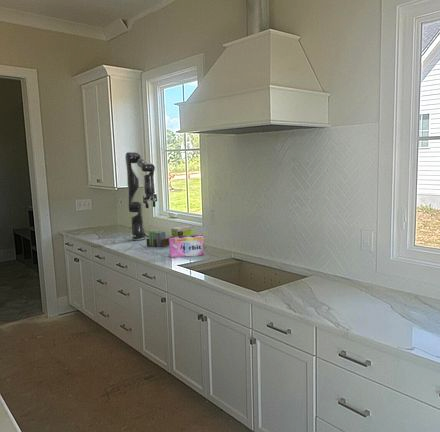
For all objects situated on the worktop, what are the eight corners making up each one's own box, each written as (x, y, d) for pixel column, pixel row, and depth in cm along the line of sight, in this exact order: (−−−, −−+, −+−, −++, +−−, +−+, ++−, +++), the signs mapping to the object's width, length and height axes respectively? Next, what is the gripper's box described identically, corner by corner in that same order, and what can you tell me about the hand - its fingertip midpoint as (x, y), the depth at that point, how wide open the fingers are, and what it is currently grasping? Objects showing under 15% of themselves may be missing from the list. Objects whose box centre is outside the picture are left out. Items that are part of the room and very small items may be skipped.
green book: (154, 244, 330) (153, 229, 328) (155, 244, 329) (154, 229, 327) (149, 246, 324) (148, 231, 322) (150, 246, 324) (149, 231, 322)
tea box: (188, 243, 337) (187, 225, 335) (195, 244, 330) (194, 226, 328) (172, 246, 327) (171, 227, 325) (178, 247, 320) (177, 229, 318)
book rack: (155, 245, 332) (154, 236, 331) (170, 246, 327) (170, 237, 326) (146, 247, 323) (146, 238, 322) (162, 248, 318) (162, 239, 317)
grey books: (161, 244, 328) (161, 231, 326) (166, 245, 326) (165, 231, 325) (156, 246, 322) (155, 232, 320) (160, 246, 320) (160, 232, 319)
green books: (156, 244, 329) (155, 229, 327) (160, 244, 328) (159, 230, 326) (151, 246, 323) (150, 231, 322) (155, 246, 322) (154, 231, 320)
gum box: (204, 252, 301) (203, 234, 299) (204, 255, 293) (203, 236, 291) (170, 255, 295) (169, 236, 294) (169, 257, 288) (168, 238, 286)
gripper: (147, 188, 323) (148, 208, 325) (158, 187, 336) (160, 206, 339) (139, 188, 326) (141, 208, 328) (151, 187, 339) (152, 206, 341)
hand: (150, 207), depth 333 cm, fingers open, 8 cm apart
